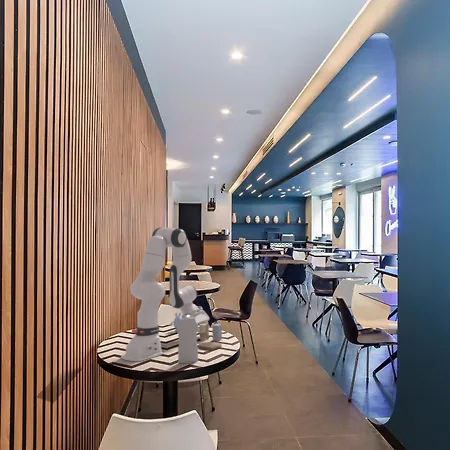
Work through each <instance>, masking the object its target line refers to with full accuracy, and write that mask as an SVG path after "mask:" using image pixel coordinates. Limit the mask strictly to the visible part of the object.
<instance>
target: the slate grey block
mask: <svg viewBox="0 0 450 450" xmlns="http://www.w3.org/2000/svg"><path fill="white" fill-rule="evenodd" d="M211 327H212V328H211V329H212V330H211V331H212V341H213V342H220V341H222V340H223V335H222V334H223V333H222V331H223V330H222V324H221V323H214V324H212V326H211Z"/></svg>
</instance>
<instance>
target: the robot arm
mask: <svg viewBox="0 0 450 450" xmlns="http://www.w3.org/2000/svg"><path fill="white" fill-rule="evenodd" d="M148 239H149V240H148V242H147V244H146V248H145V251H144V255H143V260H142V264H141V268H140V270H139V272H138V274H137V276H136V279H135V280H134V281H133V282H132V283H131V284H130V287H129V288H130V289H129V290H130V294H131V295H132V296H133V297H135V298H136V299H137V300H141V304H140V307H139V310H138V311H137V316H136V317H137V326H136V328H132V329H131V333H132V334H135V335H134V336H133V337H132V338H131V340H130V341H129V342H128V344H126V347H125V353H123V354H122V355H121V356H120V358H121V359H122V360H125V361H129V362H143V361H145V360H149V359H153V358H155V357H159V356H161V355H163V350H162V345H161V338H160V335H159V333H160V325H159V310H160V305H161V302H162V300H163V299H164V297H165V295H166V288H165V286H164V284H162V283H160V282H158V281H157V277H158V276H159V274H161V273H162V271H163V266H164V261H165V257H166V252H167V251H166V249H167V248H171V254H172V255H171V256H172V262H171V266H170V267H169V275H168V276H169V277H168V278H169V294H168V303H169V305H170V306H171V307H172V308H173V309H179V310H180V311H181V312H180V313H181V319H183V318H188V317H189V318H195V320H196V323H197V324H198V326H199V325H200V324H202V323H206V324H209V322H208V321H210V317H209V315H208V314H207V313H206V311H205V310H203V307H202V306H200V305H199V306H197V305H195V304H194V303H193V301H195V299H197V296H198V290H197V289H196V288H195V287H194V286H193V285H192V284H191V285H190V284H189V285H187V286H184V287H181V288H180V277H181V275H182V274H183V273H184V271H186V270H187V269H188V268H189V266H190V265H191V263H192V251H191V247H190V244H189V240H188V237H187V233H186V232H185V231H184V230H183V229H181V228H174V227H158V228H155V229H154V230H153V232H152V234H151V237H150V238H148ZM210 328H211V326H210V325H209V329H210ZM200 331H201V329H200V328H199V327H198V331H197V334H200Z"/></svg>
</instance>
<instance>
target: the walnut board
mask: <svg viewBox="0 0 450 450" xmlns="http://www.w3.org/2000/svg"><path fill="white" fill-rule="evenodd" d="M197 346H198V350H202V351H214V350H216V351H217V350H218V349H221V348H222V343H220V342H219V341H204V342H201V343H199V344H197Z"/></svg>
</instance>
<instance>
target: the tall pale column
mask: <svg viewBox="0 0 450 450" xmlns="http://www.w3.org/2000/svg"><path fill="white" fill-rule="evenodd" d="M198 328H199V325H198V324H197V323H196V320H195V318H189V317H188V318H183V319H182V318H181V319H180V321H179V325H178V326H177V331H176V333H177V336H178V349H177V354H178V358H177V359H178V361H177V362H178V364H181V365H182V364H191V363H197V362H199V357H198V356H199V348H198V344H197V343H198V339H197V338H198V332H197V331H198Z"/></svg>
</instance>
